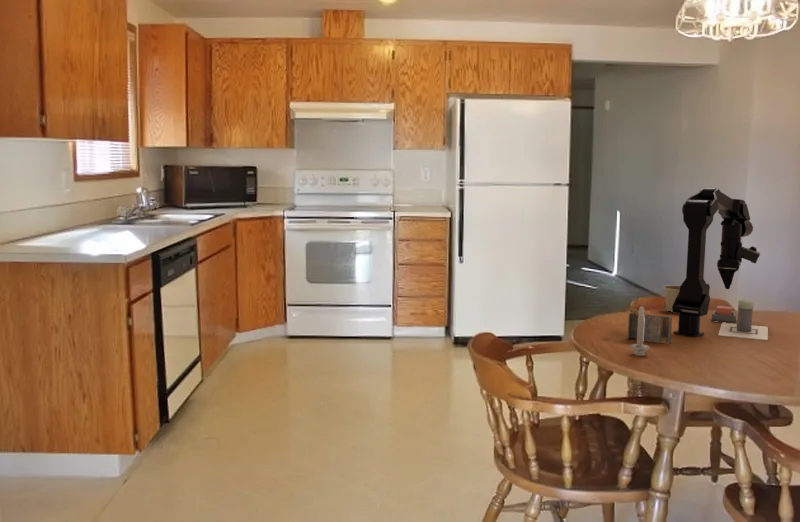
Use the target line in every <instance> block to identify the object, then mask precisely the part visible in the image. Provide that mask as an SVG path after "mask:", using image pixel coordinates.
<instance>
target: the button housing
mask: <svg viewBox="0 0 800 522" xmlns="http://www.w3.org/2000/svg"><path fill="white" fill-rule="evenodd" d="M716 312H717V310H712V313H711V321H718V322H717V323H719V322H726V323H735V324H736V323H737V312H733V311H732V315H720V314H716Z"/></svg>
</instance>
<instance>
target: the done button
mask: <svg viewBox="0 0 800 522" xmlns="http://www.w3.org/2000/svg"><path fill="white" fill-rule="evenodd" d="M716 311H717V312H716V314H720V315H732V312H733V307H732V306H727V305H726V306H724V305H723V306H722V305H717V306H716Z"/></svg>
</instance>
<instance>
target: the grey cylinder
mask: <svg viewBox="0 0 800 522" xmlns="http://www.w3.org/2000/svg"><path fill="white" fill-rule="evenodd" d="M754 304H755V301H752V300H744V299H741V300H738V301H737V317H736V324H737V331H740V332H751V328H752V326H753V313H754V306H755V305H754Z"/></svg>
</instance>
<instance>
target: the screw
mask: <svg viewBox="0 0 800 522" xmlns="http://www.w3.org/2000/svg"><path fill="white" fill-rule="evenodd" d="M638 314H639V317H638V327H637V328H638V329H637V330H638V331H637V332H638V335H637V340H636V343H633V344H631V345H630V347H629V348H630V349H632V350H633V351H634V355H635V356H638V357H643V356H644V357H645V356H646V352H647V351H649V350H650V346H649V345H647V344H644V343H645V341H644V339H643V338H644V327H645V326H644V325H645V324H644V323H645V322H644V321H645V319H644V318H645V317H644V316H645V315H644V314H645V307H644V306H640V307H639V308H638Z"/></svg>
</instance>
